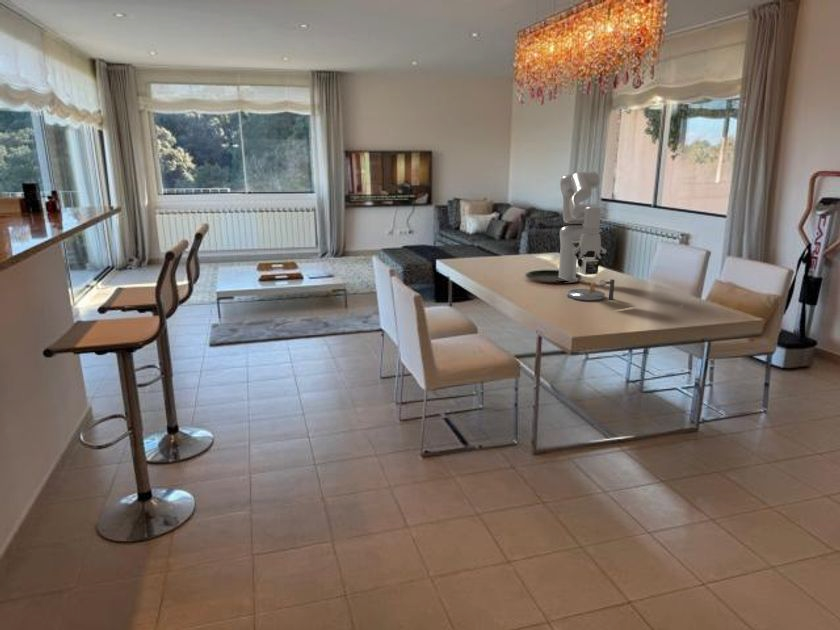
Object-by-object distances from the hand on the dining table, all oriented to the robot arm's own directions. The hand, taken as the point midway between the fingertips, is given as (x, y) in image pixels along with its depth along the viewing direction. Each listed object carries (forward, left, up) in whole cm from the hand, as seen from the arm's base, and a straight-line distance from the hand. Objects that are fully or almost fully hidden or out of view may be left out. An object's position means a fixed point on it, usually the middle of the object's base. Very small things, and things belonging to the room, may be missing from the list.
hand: (588, 266), depth 289 cm
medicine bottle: (0, 0, -4) cm, 4 cm away
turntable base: (0, 0, -17) cm, 17 cm away
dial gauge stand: (+5, +9, -17) cm, 20 cm away
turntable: (0, 0, -16) cm, 16 cm away
